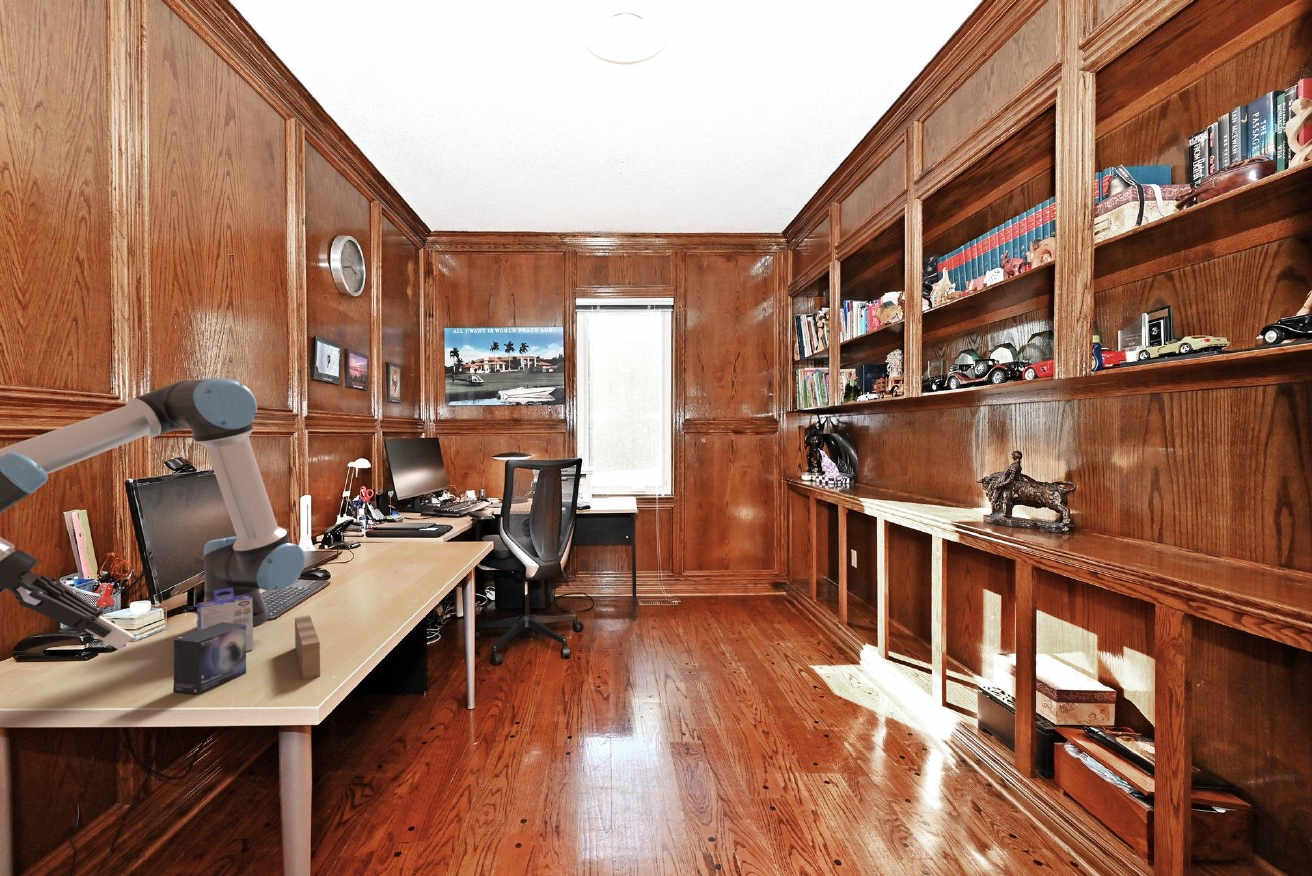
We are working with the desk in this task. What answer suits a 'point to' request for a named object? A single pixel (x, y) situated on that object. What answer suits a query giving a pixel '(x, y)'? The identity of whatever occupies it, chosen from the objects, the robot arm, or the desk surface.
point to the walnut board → (307, 647)
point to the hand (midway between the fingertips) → (126, 642)
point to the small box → (209, 657)
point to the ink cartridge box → (228, 612)
